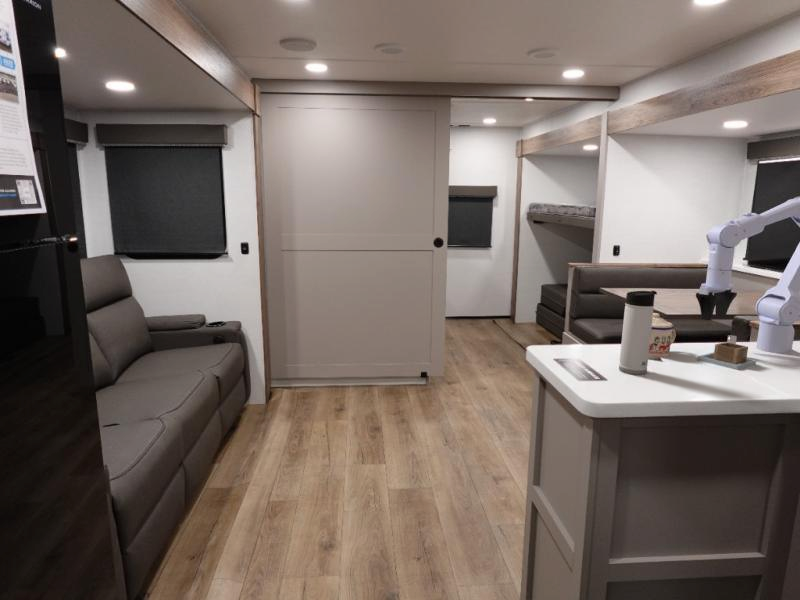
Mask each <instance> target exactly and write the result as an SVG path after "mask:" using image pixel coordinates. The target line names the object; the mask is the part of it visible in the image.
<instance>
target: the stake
mask: <svg viewBox="0 0 800 600" xmlns="http://www.w3.org/2000/svg"><path fill="white" fill-rule="evenodd" d="M726 342H728V343H733V344H737V335H732V334H731V335H727V341H726Z"/></svg>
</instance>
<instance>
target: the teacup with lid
mask: <svg viewBox="0 0 800 600" xmlns="http://www.w3.org/2000/svg"><path fill="white" fill-rule="evenodd" d="M673 325H674V324H673V323H671V322H669V321H667V320H666V319H664V318H663V317H660V313H657V312H653V319H652V328H651V337H650V346H649V355H648V360H657V361H658V360H659V361H660V360H662V358H661V357H667V356H669V355H670V349H671V345H672V344H673V343H674V342H675V339H676V336H677V335H676V331H675V329H674V326H673Z"/></svg>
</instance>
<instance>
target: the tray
mask: <svg viewBox="0 0 800 600" xmlns="http://www.w3.org/2000/svg"><path fill="white" fill-rule="evenodd" d="M713 357H714V351H712V352H710V353H705V354H700V355H698V356H697V361H700V362H704V363H708V364H712V365H715V366H718V367H720V366H721V367H723V368H724V367H725V368H728V369H732V370H736V371H738V370H741V369H745V368H748V367H752V366H755V365H756V364H757V360H755V359H751V358H748V357H747V359H746V362H744V363H741V364H737V365H735V364H731V363H727V362H723V361H718V360H714V359H713Z"/></svg>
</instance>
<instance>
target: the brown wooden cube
mask: <svg viewBox="0 0 800 600" xmlns="http://www.w3.org/2000/svg"><path fill="white" fill-rule="evenodd" d="M748 350H749V346H747V345H742V344H737V343H736V344H733V343H728V342H727V341H726V342H725V341H724V342H719V343H716V344H714V349H713V352H714V357H712V359H714V360H718V361H723V362H727V363H731V364H735V365H737V364H741V363H744V362H746V359H747V358H748Z"/></svg>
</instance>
